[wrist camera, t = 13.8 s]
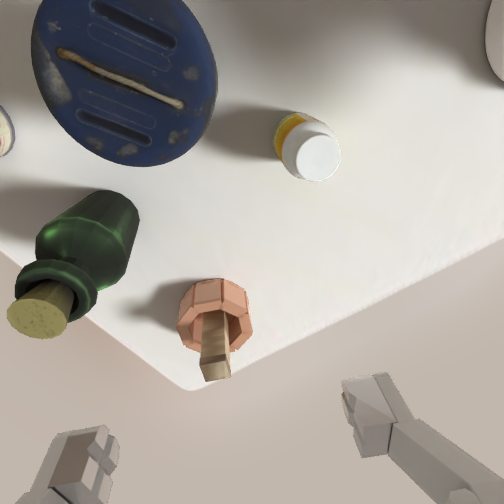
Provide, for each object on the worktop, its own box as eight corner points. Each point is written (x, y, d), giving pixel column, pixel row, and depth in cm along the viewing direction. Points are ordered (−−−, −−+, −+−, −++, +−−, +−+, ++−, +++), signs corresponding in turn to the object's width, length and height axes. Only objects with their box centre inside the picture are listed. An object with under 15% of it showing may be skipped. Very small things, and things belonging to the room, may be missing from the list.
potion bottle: (71, 177, 34) (-48, 266, 19) (147, 187, 35) (94, 278, 20) (79, 241, 38) (-14, 356, 23) (146, 247, 39) (102, 360, 24)
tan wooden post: (224, 298, 44) (225, 360, 35) (228, 314, 46) (230, 377, 37) (203, 302, 44) (199, 365, 35) (208, 318, 46) (205, 381, 37)
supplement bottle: (321, 112, 33) (355, 126, 25) (315, 161, 36) (344, 189, 28) (272, 111, 33) (291, 125, 24) (270, 162, 35) (286, 189, 27)
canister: (185, 146, 33) (159, 210, 18) (101, 87, 30) (-21, 105, 15) (236, 65, 30) (256, 61, 15) (148, -12, 26) (53, -126, 11)
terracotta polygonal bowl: (242, 273, 43) (245, 295, 39) (253, 323, 48) (256, 347, 44) (173, 286, 43) (168, 309, 39) (191, 335, 48) (189, 360, 44)
